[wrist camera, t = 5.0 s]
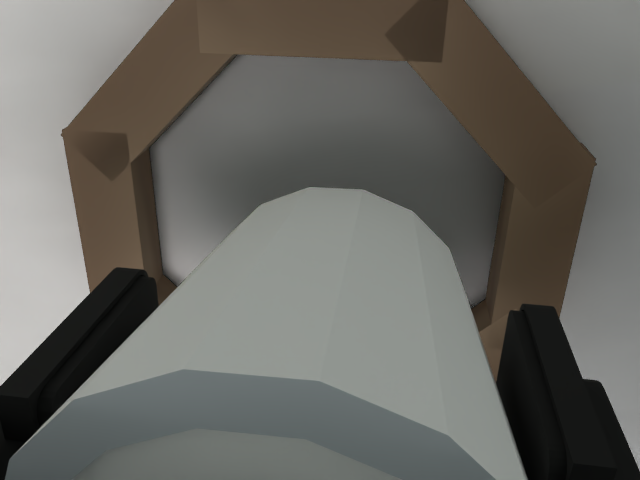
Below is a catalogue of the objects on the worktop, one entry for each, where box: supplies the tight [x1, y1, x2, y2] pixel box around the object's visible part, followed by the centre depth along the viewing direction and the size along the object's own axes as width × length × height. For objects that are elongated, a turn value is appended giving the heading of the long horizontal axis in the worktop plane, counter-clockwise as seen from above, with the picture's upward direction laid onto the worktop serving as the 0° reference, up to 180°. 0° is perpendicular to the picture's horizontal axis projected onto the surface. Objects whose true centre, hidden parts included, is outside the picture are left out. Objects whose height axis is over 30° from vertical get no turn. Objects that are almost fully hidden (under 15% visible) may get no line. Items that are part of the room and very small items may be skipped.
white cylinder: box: [5, 187, 528, 480], centre depth 10 cm, size 7×7×7 cm
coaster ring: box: [61, 0, 597, 382], centre depth 15 cm, size 12×12×1 cm
